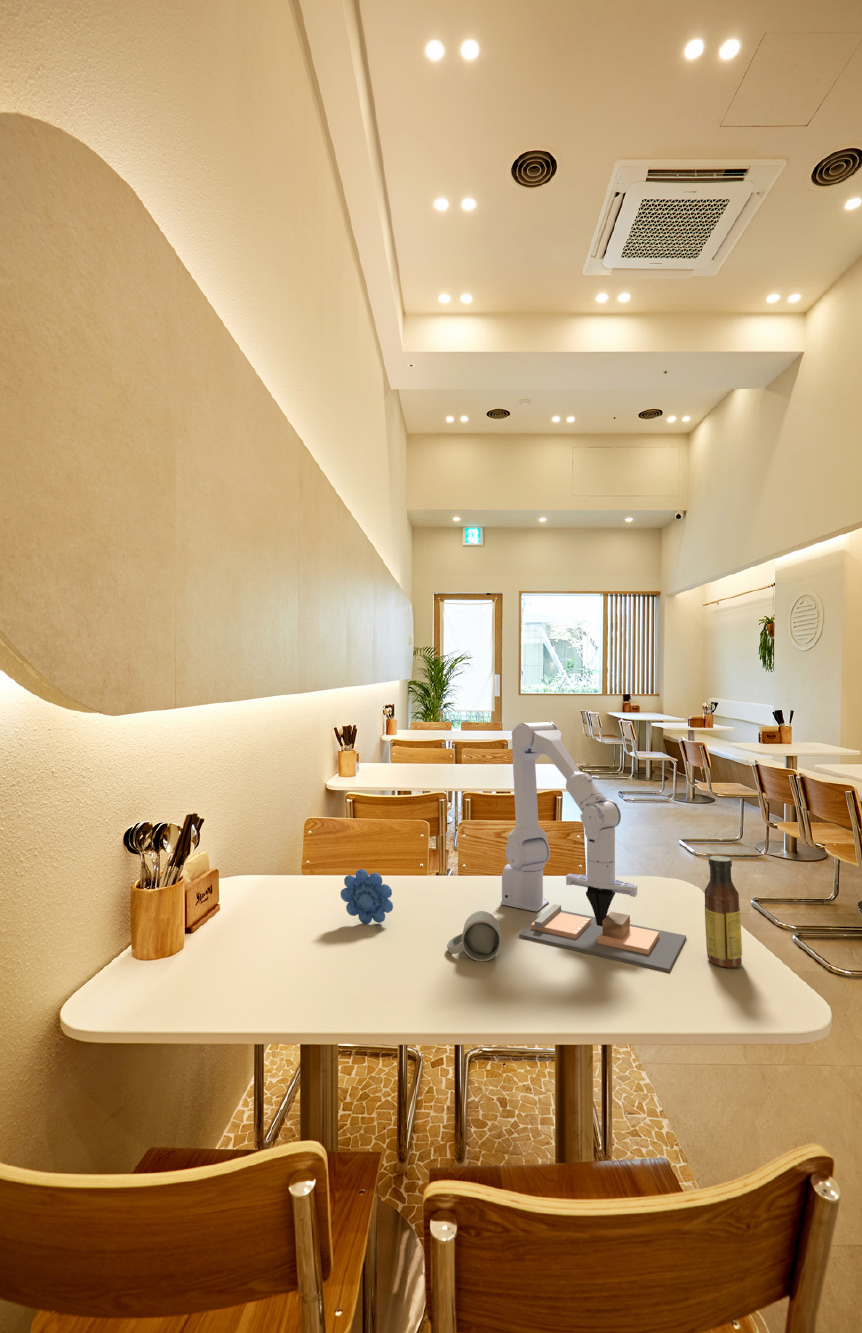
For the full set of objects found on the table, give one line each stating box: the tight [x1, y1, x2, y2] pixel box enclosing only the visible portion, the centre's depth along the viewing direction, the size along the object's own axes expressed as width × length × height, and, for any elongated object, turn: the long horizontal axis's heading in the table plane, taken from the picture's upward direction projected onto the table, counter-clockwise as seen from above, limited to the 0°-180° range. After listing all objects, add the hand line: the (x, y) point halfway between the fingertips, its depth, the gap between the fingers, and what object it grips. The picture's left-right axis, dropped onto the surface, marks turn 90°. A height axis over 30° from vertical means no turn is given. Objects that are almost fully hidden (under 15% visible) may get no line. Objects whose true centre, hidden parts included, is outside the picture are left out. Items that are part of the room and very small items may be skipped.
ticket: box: [530, 903, 591, 939], centre depth 137 cm, size 10×12×2 cm
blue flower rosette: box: [340, 868, 394, 925], centre depth 138 cm, size 12×7×12 cm, turn 91°
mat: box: [518, 909, 687, 973], centre depth 132 cm, size 30×18×1 cm, turn 59°
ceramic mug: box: [446, 910, 502, 962], centre depth 125 cm, size 11×8×8 cm
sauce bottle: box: [704, 855, 743, 969], centre depth 121 cm, size 6×6×20 cm
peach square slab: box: [597, 911, 659, 955], centre depth 129 cm, size 10×10×4 cm
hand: (601, 924), depth 132 cm, fingers closed
